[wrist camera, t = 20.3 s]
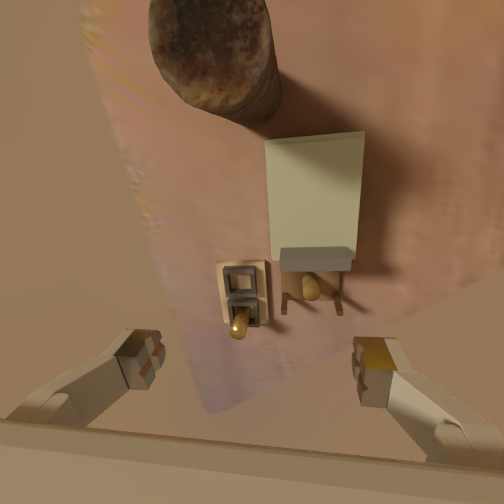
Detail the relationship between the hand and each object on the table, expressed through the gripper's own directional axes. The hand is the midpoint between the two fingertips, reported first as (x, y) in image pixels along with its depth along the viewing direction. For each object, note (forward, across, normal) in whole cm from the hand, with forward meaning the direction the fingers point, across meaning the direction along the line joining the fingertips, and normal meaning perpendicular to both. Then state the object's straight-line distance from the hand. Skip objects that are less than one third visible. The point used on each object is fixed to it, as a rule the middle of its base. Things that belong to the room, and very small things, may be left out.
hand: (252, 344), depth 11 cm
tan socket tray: (+29, +7, +16) cm, 34 cm away
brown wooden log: (+29, +3, -13) cm, 32 cm away
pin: (+28, +7, +19) cm, 35 cm away
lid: (+28, -4, 0) cm, 28 cm away
